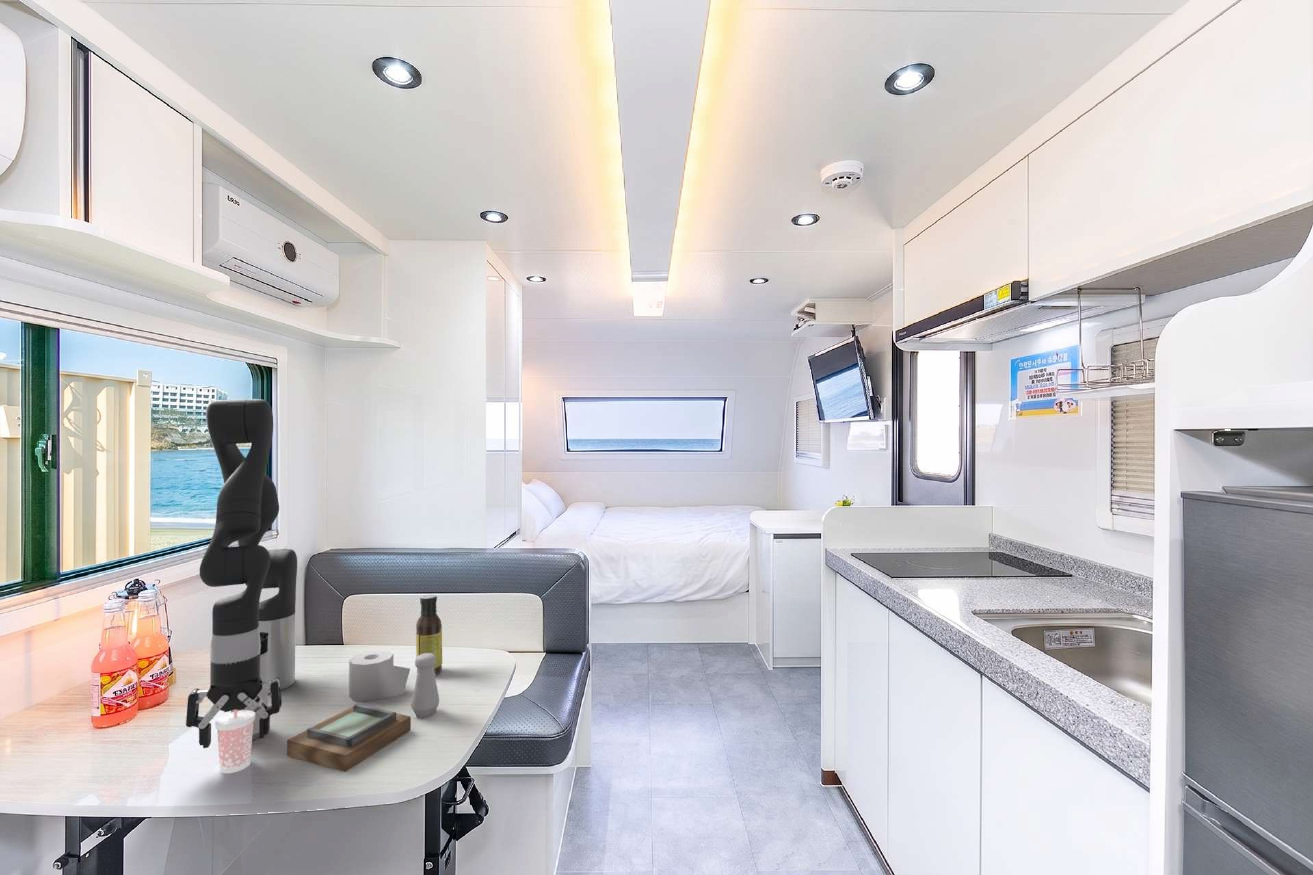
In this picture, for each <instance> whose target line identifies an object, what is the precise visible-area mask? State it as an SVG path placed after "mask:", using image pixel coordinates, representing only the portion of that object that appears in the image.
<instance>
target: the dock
mask: <svg viewBox="0 0 1313 875" xmlns="http://www.w3.org/2000/svg"><path fill="white" fill-rule="evenodd" d="M411 720H412V716H410V715H406V714H400V713H397V712H396V711H391V710H388V709H387V710H386V709H383V708H378V707H373V706H370V705H365V704H364V705H363V704H359V703H355V704H353V706H351V707H348V708H346V709H345V710H343V711H341V712H339V713H337V714H335V715H332V716H331V717H329V718H326V719H325V720H324V721H321V722H319V723H318V724H315V725H313V726H312V727H309V728H308V727H307V729H305V730H304V731H302V732H300V733H298V734H296V735H294V736H291V737H290V738H288V739H287V740H286V755H287V756H288V757H291V758H295V759H298V760H302V761H306V762H309V763H312V764H315V765H316V764H317V765H320V766H323V767H328V768H331V769H334V770H338V771H341V772H347V771H349V770H351V769H353V768H354V767H356V766H357V765H359V764H360V763H362V762H363V761H365V760H367V759H368V758H370V757H371V756H373V755H375V754H376V753H377V752H379V751H381V750H382V749H384V748H386V747H388V745H390V744H392V743H393V742H395V741H397V740H398V739H400V738H401V737H403V736H405V735H406V734H408V733H409V732H411V731H412V729H411V728H412V726H411V724H412V723H411V722H412V721H411Z"/></svg>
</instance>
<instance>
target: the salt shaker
mask: <svg viewBox="0 0 1313 875" xmlns="http://www.w3.org/2000/svg"><path fill="white" fill-rule="evenodd" d="M435 663H436V656H435V655H434V654H432V653H425V654H421V655H419V656H417V657H416V656H415V660H414V666H415V668H418V672H417V671H416V679H415V684H414V689H413V695H412V699H411V704H410V706H411V709H412V711H413V713H414V715H415V718H418V719H419V718H420V719H425V718H426V719H427V718H429V717H432V716H434V714H435V713H436V712H437V708H438V707H439V704H440V696H439V690H438V685H437V680H436V675H435V673H434V667H433V666H434V665H435Z"/></svg>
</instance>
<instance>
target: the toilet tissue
mask: <svg viewBox="0 0 1313 875" xmlns="http://www.w3.org/2000/svg"><path fill="white" fill-rule="evenodd" d="M348 665H349V666H348V698H350V700H352V701H353V702H360V703H361V702H363V703H366V702H373V701H377V700H382V699H383V700H384V699H389V698H393V697H396V696H400V695H403V694H404V693H405V688H406V685H407V682H408V679H409V675H410V672H411V668H408V667H403V666H398V665H394V653H393V652H392V651H390V650H386V649H385V650H384V649H375V650H367V651H363V652H361V653H358V654H357V653H356V654H355V655H353V656H352V657H351V658H350V659H349V661H348Z"/></svg>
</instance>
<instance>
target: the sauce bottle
mask: <svg viewBox="0 0 1313 875" xmlns="http://www.w3.org/2000/svg"><path fill="white" fill-rule="evenodd" d="M437 601H438V596H437V595H436V594H425V595H421V596H420V598H419V603H420V616H419V617H418V620H417V621H416V625H415V626H416V627H415V628H416V632H415V648H416V649H415V650H416V651H415V652H416V653H415V654H416V655H415V658H416V657H417V656H419V655H421V654H425V653H432V654H434V655H435V656H436V663H435V665H434V666H433V667H434V673H435V676H436V675H439V673H441V672H442V669H443V666H442V665H443V633H442V630H443V628H442V626H443V625H442V621H441V618H440V616H439V615H438V614H437V612H438V610H437ZM416 668H417V667H416ZM417 672H418V668H417V669H416V673H417Z"/></svg>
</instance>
